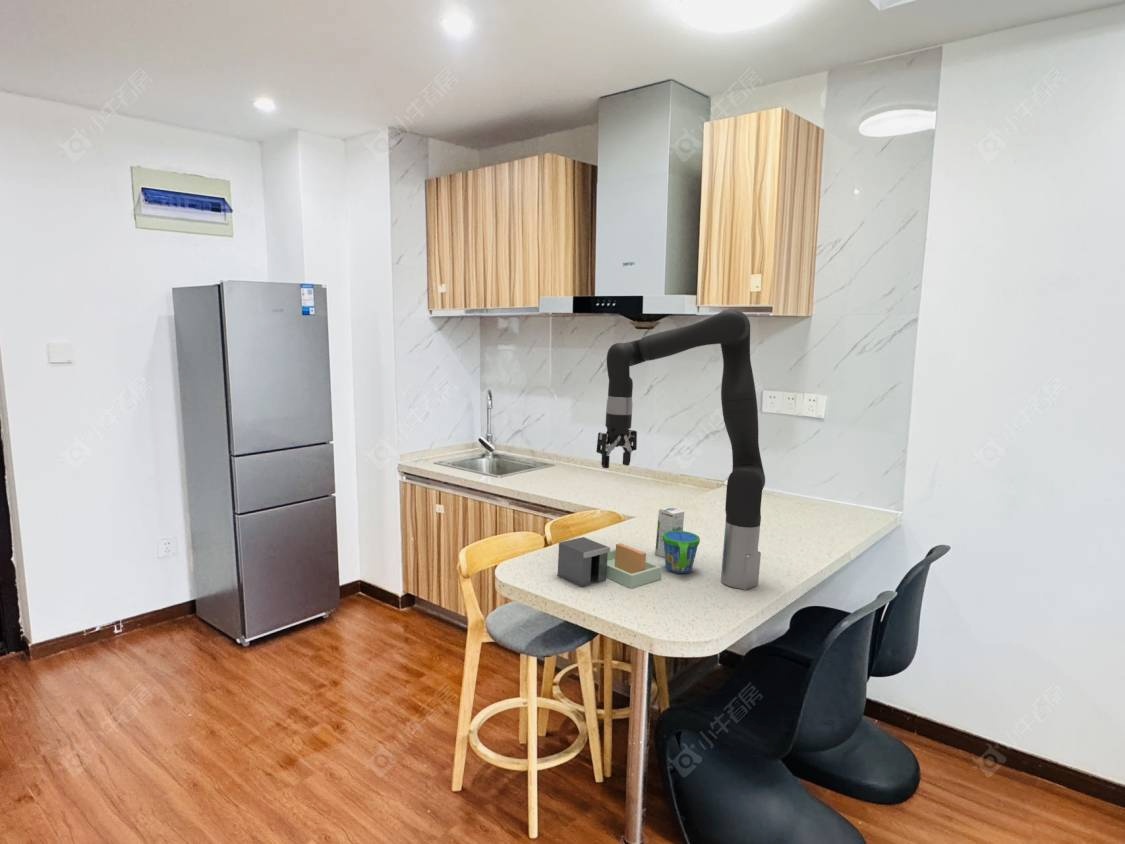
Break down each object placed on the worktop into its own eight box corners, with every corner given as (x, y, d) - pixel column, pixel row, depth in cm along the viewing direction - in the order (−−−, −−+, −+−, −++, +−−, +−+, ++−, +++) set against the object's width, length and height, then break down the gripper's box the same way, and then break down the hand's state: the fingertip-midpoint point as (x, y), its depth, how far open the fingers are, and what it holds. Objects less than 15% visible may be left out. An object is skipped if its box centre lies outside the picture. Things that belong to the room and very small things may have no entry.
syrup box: (665, 550, 209) (669, 505, 207) (681, 556, 205) (684, 510, 203) (654, 554, 205) (657, 508, 203) (670, 559, 201) (673, 513, 199)
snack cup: (698, 581, 185) (700, 546, 183) (659, 577, 187) (662, 542, 185) (696, 562, 200) (699, 529, 199) (661, 558, 202) (663, 526, 200)
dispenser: (608, 581, 182) (610, 547, 181) (583, 588, 176) (585, 553, 175) (581, 569, 190) (583, 536, 189) (557, 575, 184) (559, 542, 183)
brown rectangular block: (644, 577, 183) (646, 553, 182) (640, 579, 182) (642, 554, 181) (618, 566, 191) (620, 543, 190) (614, 567, 189) (615, 544, 188)
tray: (661, 579, 185) (661, 566, 185) (631, 588, 178) (631, 575, 177) (615, 560, 199) (615, 548, 198) (585, 568, 191) (586, 556, 191)
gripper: (610, 414, 187) (607, 471, 189) (645, 412, 196) (641, 466, 198) (592, 411, 192) (589, 466, 195) (626, 409, 202) (623, 461, 204)
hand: (615, 466), depth 196 cm, fingers open, 8 cm apart
